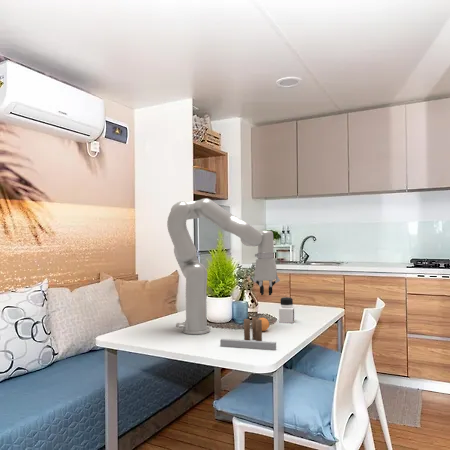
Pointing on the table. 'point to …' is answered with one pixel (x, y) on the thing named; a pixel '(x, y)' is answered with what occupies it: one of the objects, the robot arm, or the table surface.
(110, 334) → the table surface
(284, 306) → the medicine bottle
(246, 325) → the back pin left
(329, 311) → the table surface
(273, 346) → the stopper rail
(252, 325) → the front pin
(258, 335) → the back pin right
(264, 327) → the ball
